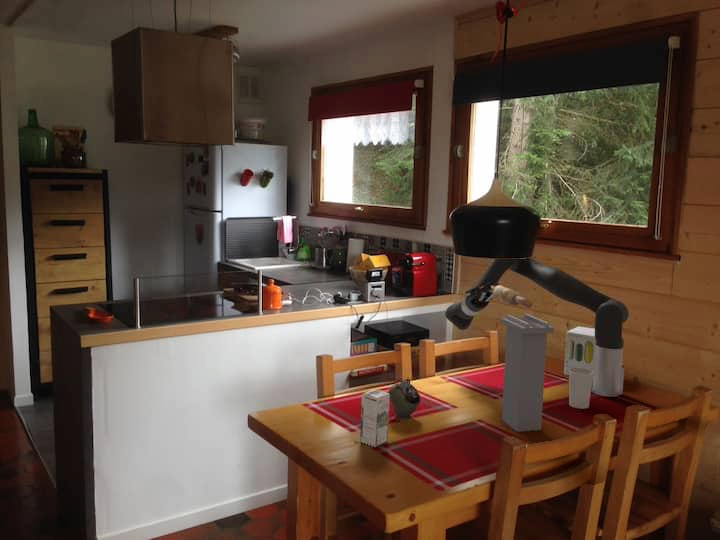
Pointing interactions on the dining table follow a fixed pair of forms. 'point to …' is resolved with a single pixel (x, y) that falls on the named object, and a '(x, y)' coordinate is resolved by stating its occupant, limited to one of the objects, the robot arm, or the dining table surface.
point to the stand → (524, 371)
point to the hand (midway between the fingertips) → (493, 285)
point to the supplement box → (580, 349)
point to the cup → (580, 387)
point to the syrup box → (374, 417)
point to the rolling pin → (510, 296)
